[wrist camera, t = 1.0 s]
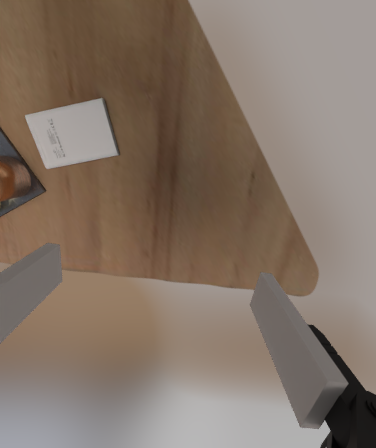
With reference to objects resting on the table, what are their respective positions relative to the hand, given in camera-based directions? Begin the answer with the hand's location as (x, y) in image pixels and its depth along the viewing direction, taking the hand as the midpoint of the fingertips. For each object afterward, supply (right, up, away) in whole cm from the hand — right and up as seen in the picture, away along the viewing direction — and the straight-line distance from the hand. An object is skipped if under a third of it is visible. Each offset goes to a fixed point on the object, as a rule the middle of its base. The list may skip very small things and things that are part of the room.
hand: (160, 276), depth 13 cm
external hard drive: (-16, +18, +19) cm, 31 cm away
